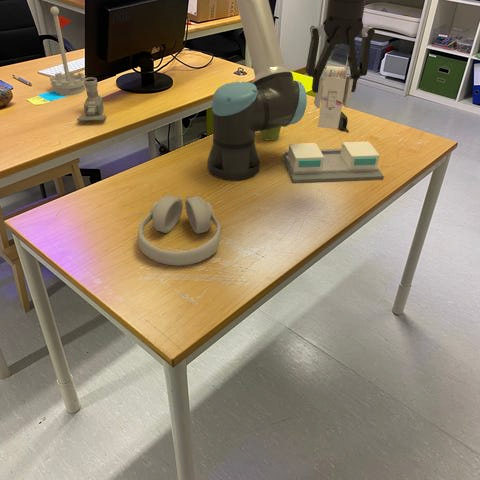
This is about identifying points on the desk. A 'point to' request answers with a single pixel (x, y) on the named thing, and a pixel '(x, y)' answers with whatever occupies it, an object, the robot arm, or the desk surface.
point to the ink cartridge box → (332, 96)
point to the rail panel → (332, 162)
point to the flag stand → (65, 64)
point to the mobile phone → (343, 122)
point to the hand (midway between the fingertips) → (331, 105)
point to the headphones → (167, 218)
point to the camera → (92, 101)
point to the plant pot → (270, 134)
